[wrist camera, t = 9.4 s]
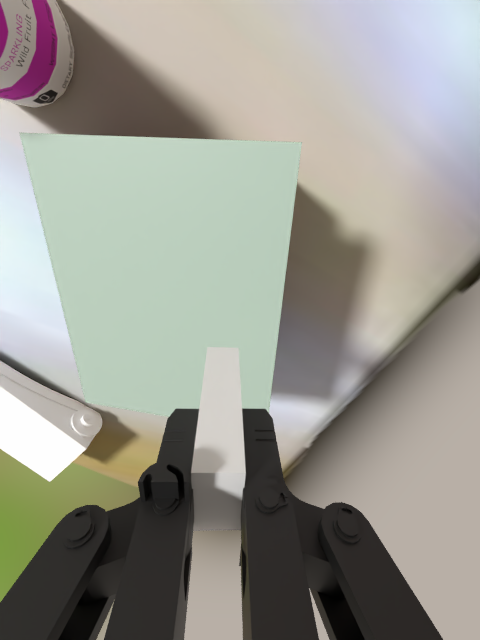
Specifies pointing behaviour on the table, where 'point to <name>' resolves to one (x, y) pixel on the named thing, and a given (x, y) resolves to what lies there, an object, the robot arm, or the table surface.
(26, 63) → the supplement can
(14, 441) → the white rectangular bar
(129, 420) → the table surface
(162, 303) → the lid
